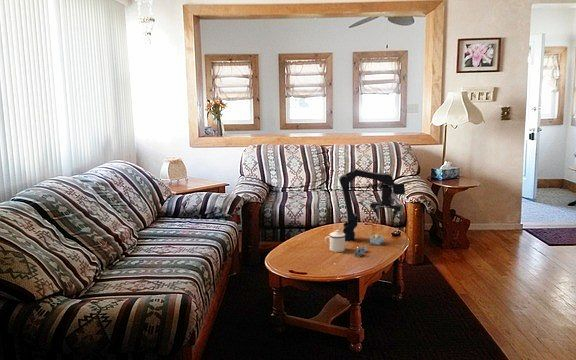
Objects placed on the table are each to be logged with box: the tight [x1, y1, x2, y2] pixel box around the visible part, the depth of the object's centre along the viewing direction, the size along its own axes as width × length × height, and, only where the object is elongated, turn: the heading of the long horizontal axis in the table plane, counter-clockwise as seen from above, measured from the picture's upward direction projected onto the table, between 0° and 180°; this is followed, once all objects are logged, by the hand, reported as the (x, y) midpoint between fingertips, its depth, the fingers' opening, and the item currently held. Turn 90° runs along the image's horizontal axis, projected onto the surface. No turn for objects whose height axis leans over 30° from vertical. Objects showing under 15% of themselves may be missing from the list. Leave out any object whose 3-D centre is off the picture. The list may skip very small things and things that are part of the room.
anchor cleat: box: [354, 246, 364, 258], centre depth 266 cm, size 5×3×5 cm, turn 150°
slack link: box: [359, 245, 368, 254], centre depth 273 cm, size 4×3×2 cm
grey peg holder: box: [369, 233, 385, 247], centre depth 286 cm, size 8×8×5 cm
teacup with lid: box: [324, 229, 346, 253], centre depth 276 cm, size 12×9×12 cm
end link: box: [369, 234, 384, 245], centre depth 287 cm, size 6×6×4 cm
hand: (386, 220), depth 292 cm, fingers open, 9 cm apart
